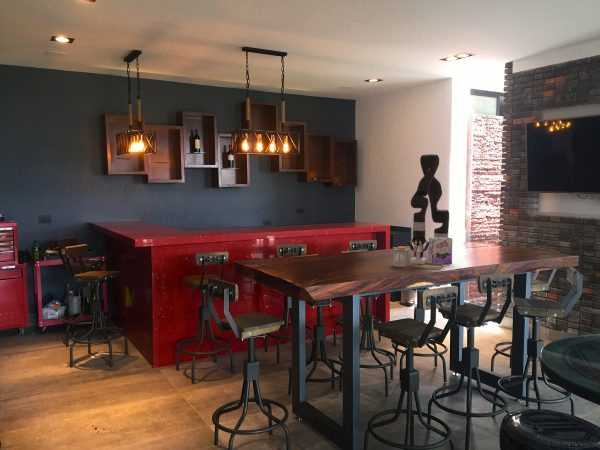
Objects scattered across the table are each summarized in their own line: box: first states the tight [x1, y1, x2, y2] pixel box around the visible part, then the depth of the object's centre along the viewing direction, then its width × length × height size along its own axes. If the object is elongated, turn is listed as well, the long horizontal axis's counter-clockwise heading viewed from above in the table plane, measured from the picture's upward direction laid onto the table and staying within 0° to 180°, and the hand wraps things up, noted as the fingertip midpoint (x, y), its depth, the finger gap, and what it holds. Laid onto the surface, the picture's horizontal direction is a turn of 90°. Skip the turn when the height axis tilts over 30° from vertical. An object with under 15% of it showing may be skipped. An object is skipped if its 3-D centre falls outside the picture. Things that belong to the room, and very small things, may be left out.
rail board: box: [405, 260, 444, 270], centre depth 308 cm, size 10×20×3 cm, turn 63°
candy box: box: [427, 237, 453, 265], centre depth 321 cm, size 14×6×16 cm, turn 101°
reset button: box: [396, 245, 407, 250], centre depth 313 cm, size 4×4×4 cm
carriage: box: [410, 249, 428, 264], centre depth 309 cm, size 8×8×8 cm
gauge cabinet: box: [392, 248, 411, 268], centre depth 313 cm, size 10×8×10 cm
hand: (418, 257), depth 309 cm, fingers closed on carriage, 2 cm apart
